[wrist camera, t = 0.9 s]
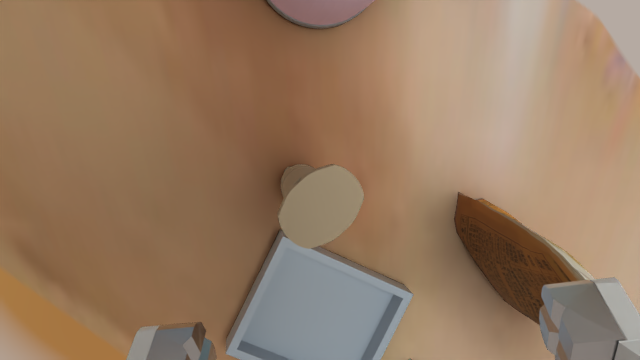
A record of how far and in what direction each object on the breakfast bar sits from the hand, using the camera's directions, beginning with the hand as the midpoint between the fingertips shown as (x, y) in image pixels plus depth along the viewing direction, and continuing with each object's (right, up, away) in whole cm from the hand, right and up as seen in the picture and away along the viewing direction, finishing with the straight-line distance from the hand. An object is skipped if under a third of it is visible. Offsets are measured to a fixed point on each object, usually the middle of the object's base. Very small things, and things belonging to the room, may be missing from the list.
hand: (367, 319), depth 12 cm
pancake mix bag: (+17, -5, +43) cm, 47 cm away
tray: (-1, -10, +41) cm, 42 cm away
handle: (-4, +3, +39) cm, 39 cm away
